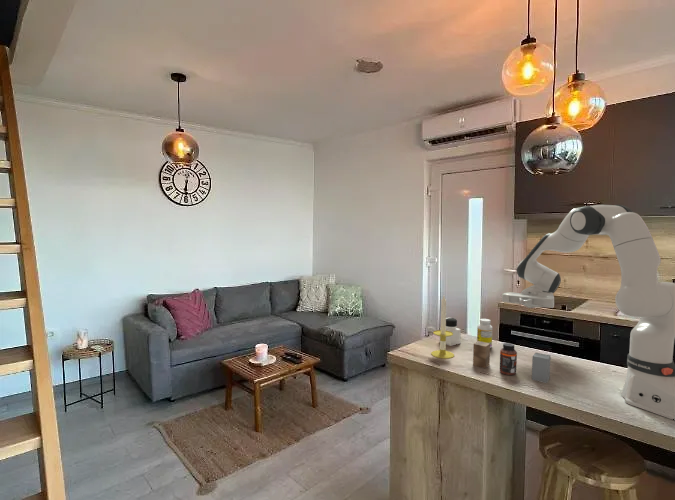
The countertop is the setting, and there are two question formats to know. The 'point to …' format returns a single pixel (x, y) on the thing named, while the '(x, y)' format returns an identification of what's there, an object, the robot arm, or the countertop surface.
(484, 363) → the walnut block
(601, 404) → the countertop surface
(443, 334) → the candle
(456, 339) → the medicine bottle
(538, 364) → the slate block
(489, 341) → the supplement bottle
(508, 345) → the supplement bottle
